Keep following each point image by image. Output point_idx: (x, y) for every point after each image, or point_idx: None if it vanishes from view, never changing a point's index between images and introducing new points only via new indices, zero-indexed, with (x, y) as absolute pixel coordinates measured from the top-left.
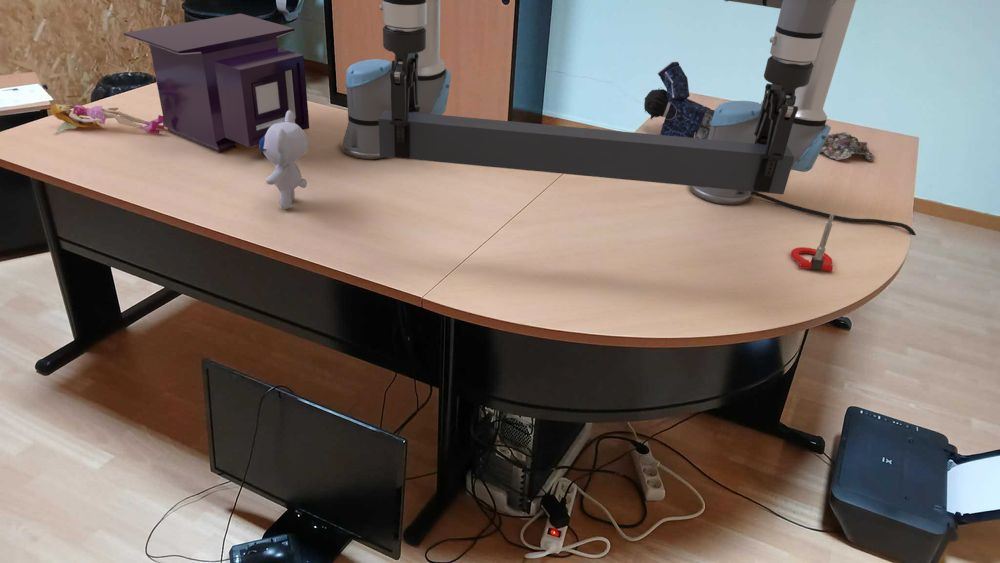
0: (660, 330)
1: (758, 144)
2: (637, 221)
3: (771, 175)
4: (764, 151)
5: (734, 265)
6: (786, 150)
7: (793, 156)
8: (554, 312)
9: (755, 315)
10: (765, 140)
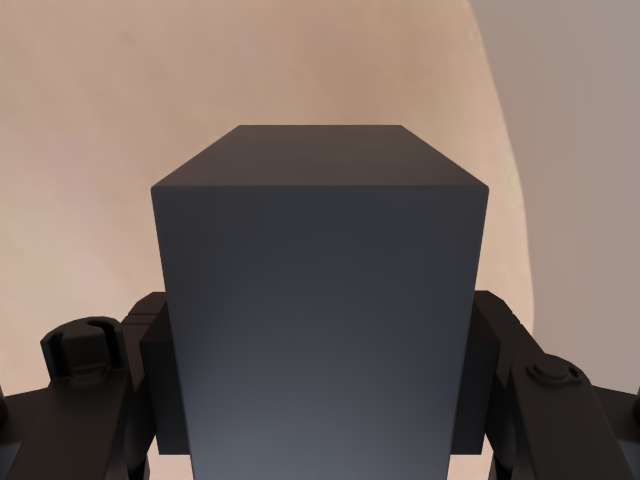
0: (516, 315)
1: (210, 463)
2: (57, 326)
3: (498, 300)
4: (382, 446)
5: (210, 116)
6: (296, 235)
7: (476, 196)
8: (466, 467)
9: (449, 107)
10: (131, 428)
